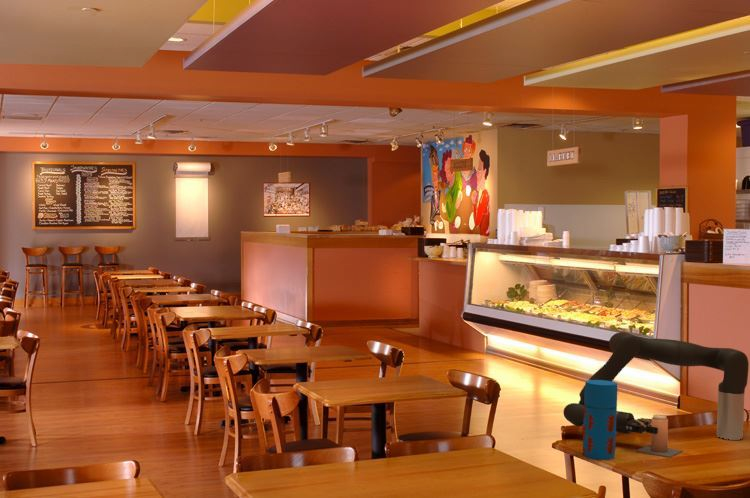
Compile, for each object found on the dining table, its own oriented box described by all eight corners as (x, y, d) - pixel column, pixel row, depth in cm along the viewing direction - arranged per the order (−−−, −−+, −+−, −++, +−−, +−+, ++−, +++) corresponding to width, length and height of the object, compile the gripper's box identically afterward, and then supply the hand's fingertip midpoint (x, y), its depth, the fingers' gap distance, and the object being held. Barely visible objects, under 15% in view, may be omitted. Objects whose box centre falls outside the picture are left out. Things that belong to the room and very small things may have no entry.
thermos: (612, 452, 327) (615, 380, 326) (617, 460, 316) (620, 385, 316) (580, 451, 328) (583, 379, 327) (584, 458, 317) (586, 384, 317)
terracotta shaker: (654, 447, 335) (655, 413, 335) (669, 450, 331) (670, 415, 331) (648, 450, 330) (649, 415, 330) (663, 452, 327) (664, 417, 327)
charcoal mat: (649, 445, 339) (649, 444, 339) (682, 451, 332) (682, 450, 332) (636, 451, 330) (636, 450, 330) (669, 457, 322) (669, 456, 322)
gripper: (610, 414, 334) (655, 421, 324) (626, 408, 345) (670, 415, 335) (609, 435, 334) (654, 443, 324) (625, 429, 346) (669, 436, 336)
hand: (662, 429), depth 330 cm, fingers open, 8 cm apart
